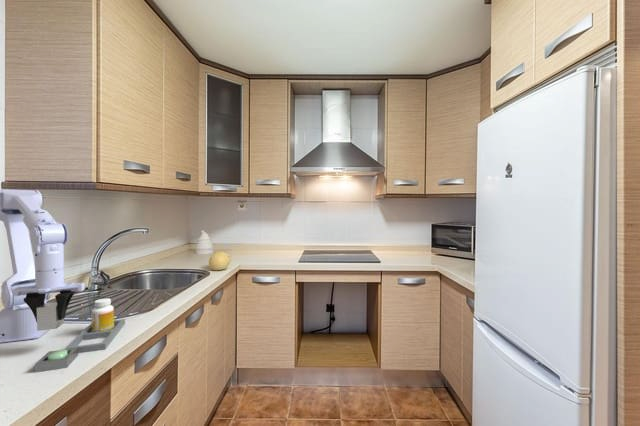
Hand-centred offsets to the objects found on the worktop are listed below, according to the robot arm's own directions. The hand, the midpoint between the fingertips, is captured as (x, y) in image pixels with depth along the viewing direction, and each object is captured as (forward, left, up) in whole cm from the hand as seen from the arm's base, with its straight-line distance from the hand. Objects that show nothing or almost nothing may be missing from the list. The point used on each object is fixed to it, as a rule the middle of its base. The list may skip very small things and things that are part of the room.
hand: (50, 319), depth 79 cm
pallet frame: (+9, +4, -8) cm, 13 cm away
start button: (+5, -9, -8) cm, 13 cm away
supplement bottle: (+9, +9, -8) cm, 15 cm away
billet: (0, 0, -2) cm, 2 cm away
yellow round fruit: (+44, +89, -8) cm, 99 cm away
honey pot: (+33, +158, -8) cm, 162 cm away
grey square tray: (+5, -9, -8) cm, 13 cm away
